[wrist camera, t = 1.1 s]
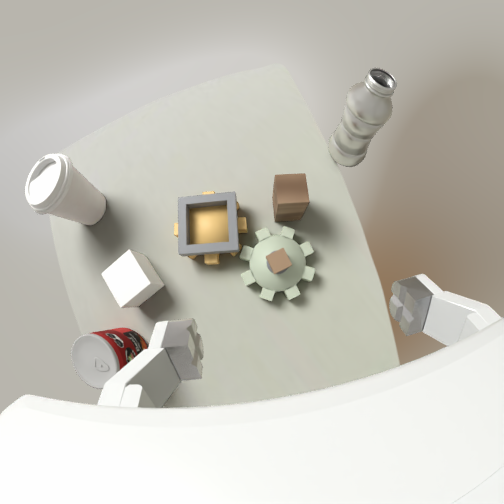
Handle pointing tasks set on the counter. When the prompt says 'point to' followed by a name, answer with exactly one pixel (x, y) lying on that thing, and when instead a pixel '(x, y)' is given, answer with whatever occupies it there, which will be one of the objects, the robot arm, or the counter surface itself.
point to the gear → (277, 263)
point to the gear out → (209, 226)
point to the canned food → (104, 354)
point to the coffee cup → (63, 191)
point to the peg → (290, 197)
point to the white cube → (132, 279)
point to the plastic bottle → (362, 117)
